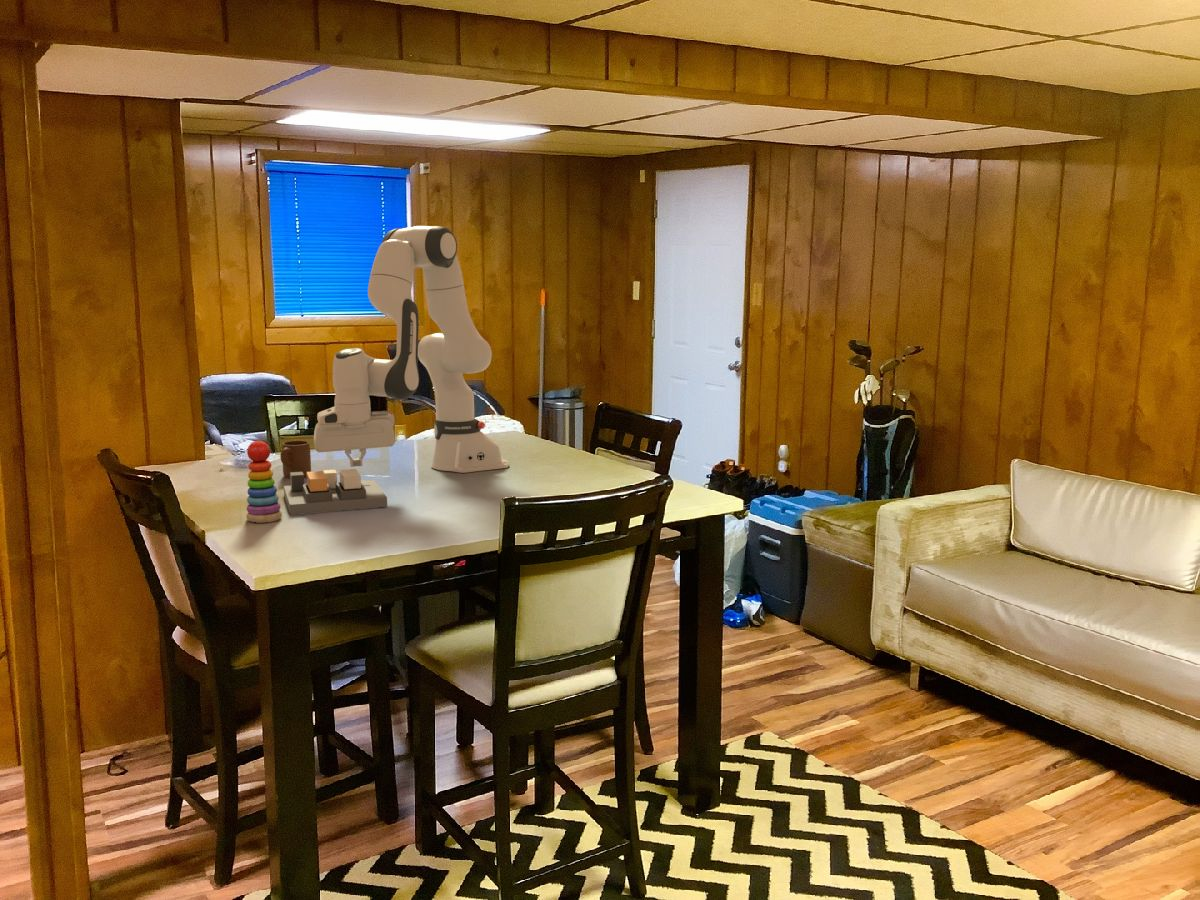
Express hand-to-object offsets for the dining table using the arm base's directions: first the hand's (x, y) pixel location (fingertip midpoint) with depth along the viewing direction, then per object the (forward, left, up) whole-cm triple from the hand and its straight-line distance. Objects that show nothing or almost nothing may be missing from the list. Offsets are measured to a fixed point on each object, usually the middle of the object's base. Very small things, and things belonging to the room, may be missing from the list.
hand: (356, 466), depth 261 cm
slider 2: (+7, 0, -5) cm, 8 cm away
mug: (+14, -27, -8) cm, 32 cm away
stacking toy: (+24, +18, -8) cm, 31 cm away
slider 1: (+15, 0, -5) cm, 16 cm away
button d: (+3, +9, -3) cm, 10 cm away
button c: (+11, +9, -3) cm, 15 cm away
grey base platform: (+6, +5, -8) cm, 11 cm away
